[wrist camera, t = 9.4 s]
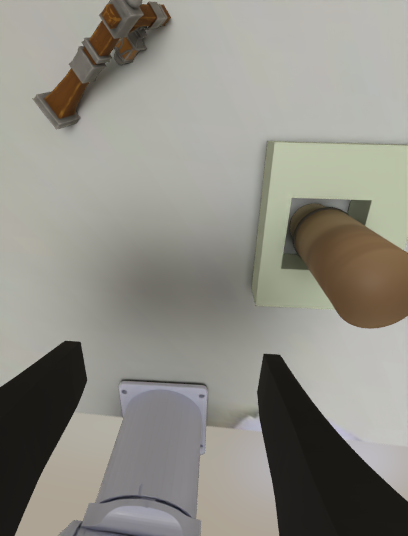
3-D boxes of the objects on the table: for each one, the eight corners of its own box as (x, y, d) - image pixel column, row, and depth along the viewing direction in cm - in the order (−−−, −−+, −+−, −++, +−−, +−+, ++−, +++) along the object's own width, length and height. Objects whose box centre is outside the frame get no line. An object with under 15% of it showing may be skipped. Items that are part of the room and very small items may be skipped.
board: (443, 295, 21) (471, 315, 19) (251, 287, 21) (255, 305, 19) (509, 147, 17) (556, 149, 14) (267, 141, 17) (274, 142, 15)
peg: (331, 249, 20) (410, 331, 12) (280, 247, 20) (323, 327, 12) (343, 199, 18) (444, 251, 10) (288, 196, 18) (344, 247, 10)
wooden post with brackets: (190, 16, 14) (141, 12, 11) (104, 113, 19) (53, 130, 16) (168, -24, 13) (110, -42, 10) (86, 87, 18) (28, 99, 15)
